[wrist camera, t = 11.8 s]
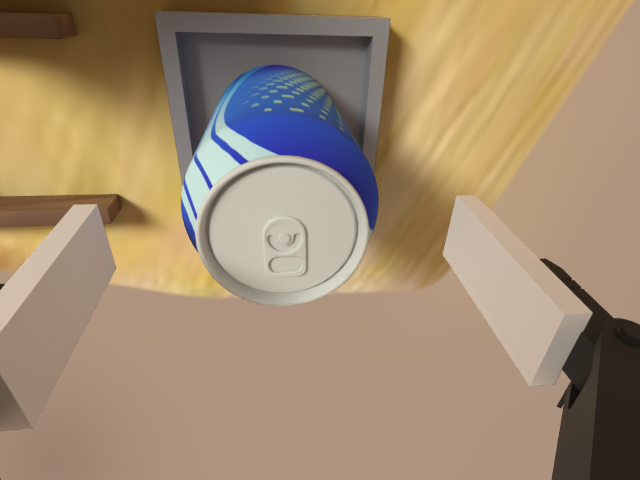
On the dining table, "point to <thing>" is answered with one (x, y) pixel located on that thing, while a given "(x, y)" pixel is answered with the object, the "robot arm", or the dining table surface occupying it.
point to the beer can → (279, 191)
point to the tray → (271, 49)
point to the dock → (46, 207)
